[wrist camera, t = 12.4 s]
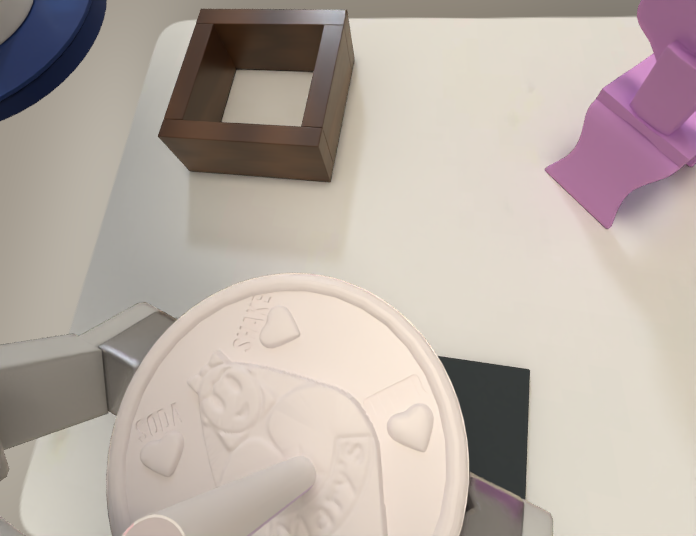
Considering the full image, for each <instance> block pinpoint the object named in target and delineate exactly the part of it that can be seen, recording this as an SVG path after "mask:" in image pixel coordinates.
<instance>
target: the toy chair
mask: <svg viewBox="0 0 696 536" xmlns="http://www.w3.org/2000/svg"><path fill="white" fill-rule="evenodd" d="M637 18H638V22H639V25H640V27H641V29H642V30H643V32H644V33H645V35H646V37H647V38H648V40H649V41H650V44H651V46H652V49H653V52H654V53H653V54H652V55H650V56H649V57H648V58H646V59H645V60H643V61H642V62H641V63H639V64H638V65H636V66H635V67H633V68H632V69H630V70H629V71H627V72H626V73H624V74H623V75H621V76H620V77H618V78H617V79H615V80H614V81H613V82H611V83H610V84H608V85H607V86H605V87H604V88H603V89H602V90H601V92H600V93H599V95H598V97H597V98H596V100H595V101H594V102H593V103H592V104H591V105H590V107H589V108H588V110H587V113H586V116H585V120H584V125H583V129H582V133H581V136H580V139H579V141H578V143H577V145H576V146H575V148H574V149H573V150H572V151H571V152H570V153H569V154H568V155H567V156H566V157H564V158H563V159H561V160H559V161H557V162H555V163H553V164H551V165H549V166H548V167H547V168H545V170H546V172H547V173H548V174H549V175H551V176H552V177H553V178H554V179H555V180H556V181H557V182H558V183H559V184H560V185H561V186H562V187H563V188H564V189H565V190H566V191H567V192H568V193H569V194H570V195H572V196H573V197H574V198H575V199H576V200H577V201H578V202H579V203H580V204H581V205H582V206H583V207H584V208H585V209H586V210H587V211H588V212H589V213H590V214H591V215H593V216H594V217H595V218H596V219H597V220H598V221H599V222H600V223H601V224H602V225H603V226H604V227H605V228H607V229H608V228H610V227H611V226H612V224H613V221H614V218H615V216H616V213H617V211H618V209H619V207H620V205H621V203H622V202H623V200H624V199H625V198H626V196H627V195H628V194H629V193H630V192H632V191H633V190H635V189H637V188H639V187H641V186H643V185H646V184H649V183H652V182H655V181H658V180H661V179H664V178H666V177H669V176H671V175H672V174H674V173H675V172H676V171H678V170H679V169H680V168H681V167H683V166H684V165H685V164H687V165H688V166H690V167H693V166H694V165H695V164H696V0H641V1H640V4H639V6H638V11H637Z"/></svg>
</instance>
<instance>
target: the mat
mask: <svg viewBox="0 0 696 536" xmlns="http://www.w3.org/2000/svg"><path fill="white" fill-rule="evenodd" d="M438 358H439V359H440V361H441V363H442V364H443V366H444V368H445V370H446V372H447V374H448V376H449V378H450V380H451V382H452V385H453V388H454V390H455V393H456V396H457V398H458V401H459V405H460V408H461V412H462V416H463V419H464V424H465V430H466V436H467V443H468V454H469V472H472V473H474V474H476V475H478V476H480V477H482V478H484V479H486V480H488V481H490V482H492V483H494V484H496V485H497V486H499V487H501V488H503V489H505V490H507V491H509V492H511V493H513V494H515V495H517V496H519V497H520V498H521V499H524V500H525V493H526V465H527V436H528V408H529V380H530V370H529V369H523V368H516V367H509V366H502V365H496V364H489V363H482V362H475V361H468V360H461V359H454V358H448V357H441V356H438Z"/></svg>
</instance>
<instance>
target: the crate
mask: <svg viewBox="0 0 696 536" xmlns="http://www.w3.org/2000/svg"><path fill="white" fill-rule="evenodd" d="M353 63H354V52H353V45H352V39H351V32H350V26H349V19H348V13H347V10H306V9H302V10H301V9H201V10H200V13H199V16H198V19H197V22H196V25H195V28H194V31H193V34H192V37H191V40H190V43H189V46H188V49H187V52H186V55H185V58H184V61H183V64H182V67H181V70H180V72H179V75H178V78H177V81H176V84H175V87H174V90H173V93H172V96H171V99H170V102H169V105H168V108H167V111H166V114H165V117H164V120H163V123H162V126H161V129H160V131H159V134H158V137H159V138H160V139H161V140H162V141H163V142H164V144H165V145H166V146H167V147H168V148H169V149H170V150H171V151H172V152H173V153H174V154H175V156H176V157H177V158H178V159H179V160H180V161H181V162H182V163H183V164H184V165H185V166H186V168H187V169H188V170H189V171H199V172H211V173H224V174H237V175H249V176H262V177H274V178H287V179H300V180H312V181H325V182H330V181H331V176H332V171H333V166H334V162H335V156H336V151H337V146H338V141H339V136H340V131H341V126H342V120H343V115H344V110H345V105H346V100H347V95H348V89H349V84H350V79H351V74H352V69H353ZM236 69H260V70H291V71H314V72H313V77H312V81H311V86H310V90H309V95H308V99H307V103H306V108H305V112H304V117H303V121H302V125H301V127H296V126H278V125H260V124H242V123H225V122H221V119H222V115H223V112H224V109H225V105H226V102H227V98H228V95H229V91H230V88H231V85H232V81H233V78H234V74H235V71H236Z"/></svg>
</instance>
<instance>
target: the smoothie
mask: <svg viewBox="0 0 696 536" xmlns="http://www.w3.org/2000/svg"><path fill="white" fill-rule="evenodd" d="M468 485H469V454H468V443H467V436H466V430H465V424H464V419H463V416H462V412H461V408H460V405H459V401H458V398H457V396H456V393H455V390H454V388H453V385H452V382H451V380H450V378H449V376H448V374H447V372H446V370H445V368H444V366H443V364H442V363H441V361H440V359H439V358H438V356H437V354H436V353H435V351H434V350H433V348H432V347H431V346H430V344H429V343H428V342H427V340H426V339H425V338H424V336H423V335H422V334H421V333H420V332H419V331H418V329H417V328H416V327H415V326H414V325H413V324H412V323H411V322H410V321H409V320H408V319H407V318H406V317H405V316H404V315H402V314H401V313H400V312H399V311H398V310H397V309H395V308H394V307H393V306H391V305H390V304H389V303H387V302H386V301H384V300H383V299H381V298H379V297H378V296H376V295H374V294H373V293H371V292H369V291H367V290H365V289H363V288H361V287H359V286H356V285H354V284H351V283H348V282H346V281H343V280H339V279H336V278H332V277H328V276H322V275H315V274H306V273H282V274H273V275H266V276H261V277H257V278H252V279H248V280H245V281H242V282H240V283H237V284H234V285H231V286H229V287H227V288H225V289H222V290H220V291H218V292H216V293H215V294H213V295H211V296H209V297H207V298H205V299H204V300H202V301H201V302H200V303H198V304H197V305H195V306H194V307H192V308H191V309H190V310H188V311H187V312H186V313H185V314H183V315H182V316H181V317H180V318H179V319H177V320H176V321H175V322H174V323H173V324H172V325H171V326H170V327H169V328H168V329H167V330H166V331H165V332H164V333H163V335H162V336H161V337H160V338H159V339H158V340H157V341H156V343H155V344H154V345H153V347H152V348H151V349H150V351H149V352H148V353H147V355H146V356H145V358H144V359H143V361H142V362H141V364H140V366H139V368H138V369H137V371H136V372H135V374H134V376H133V378H132V380H131V382H130V383H129V385H128V388H127V390H126V392H125V395H124V397H123V399H122V402H121V404H120V407H119V410H118V413H117V416H116V419H115V423H114V427H113V431H112V435H111V440H110V446H109V452H108V461H107V473H106V496H107V507H108V516H109V522H110V528H111V533H112V536H459V535H460V531H461V528H462V525H463V520H464V514H465V509H466V504H467V495H468Z"/></svg>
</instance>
